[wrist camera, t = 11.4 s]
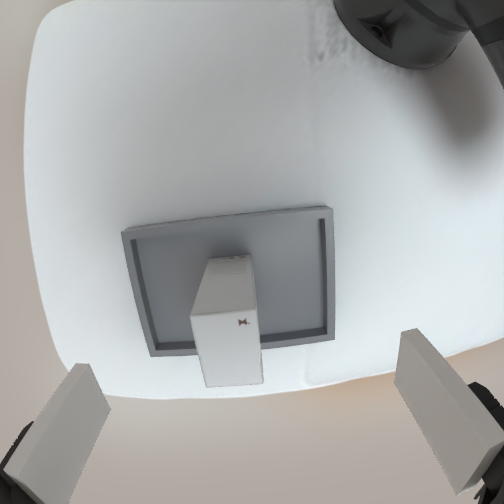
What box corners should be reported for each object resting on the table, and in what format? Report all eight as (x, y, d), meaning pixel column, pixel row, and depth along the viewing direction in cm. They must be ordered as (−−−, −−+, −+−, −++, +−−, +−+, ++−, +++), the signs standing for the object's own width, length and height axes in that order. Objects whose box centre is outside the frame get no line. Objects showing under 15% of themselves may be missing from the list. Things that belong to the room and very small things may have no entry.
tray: (326, 205, 29) (332, 208, 27) (329, 329, 33) (334, 339, 31) (128, 227, 29) (120, 232, 27) (155, 346, 33) (150, 356, 31)
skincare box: (207, 257, 30) (187, 313, 18) (251, 253, 30) (258, 306, 18) (215, 314, 31) (204, 389, 20) (257, 310, 31) (266, 385, 20)
